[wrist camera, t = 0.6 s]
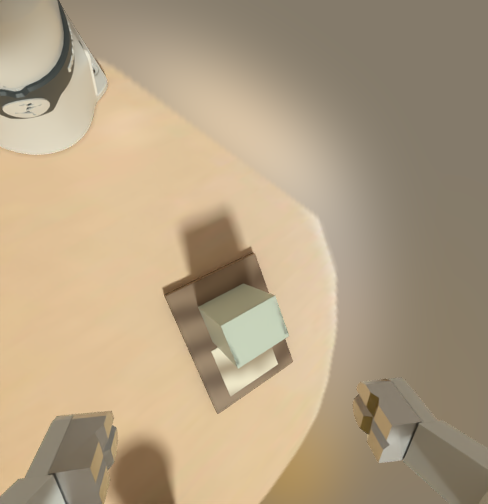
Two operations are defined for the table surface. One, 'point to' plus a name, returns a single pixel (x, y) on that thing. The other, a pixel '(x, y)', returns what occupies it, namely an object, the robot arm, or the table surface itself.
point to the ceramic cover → (244, 323)
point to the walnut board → (202, 347)
